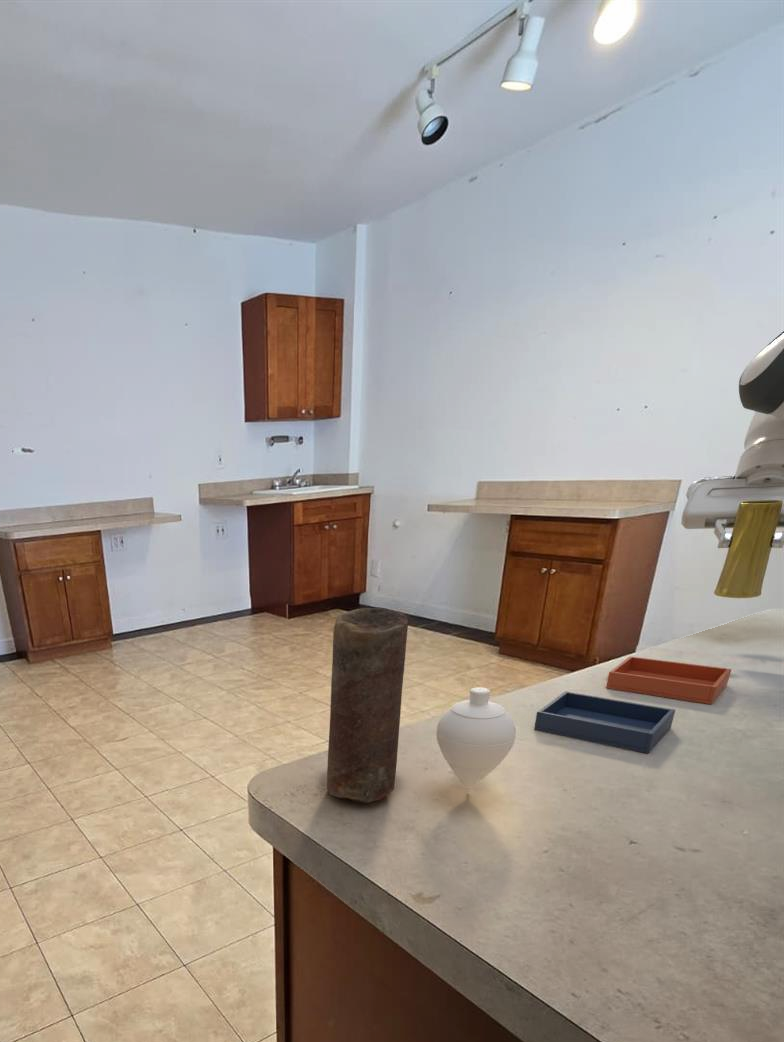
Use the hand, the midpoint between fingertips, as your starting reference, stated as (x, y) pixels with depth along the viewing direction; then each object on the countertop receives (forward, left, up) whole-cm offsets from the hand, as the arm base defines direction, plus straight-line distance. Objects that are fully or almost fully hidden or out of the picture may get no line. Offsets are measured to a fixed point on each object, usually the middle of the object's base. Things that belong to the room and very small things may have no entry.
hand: (750, 545), depth 101 cm
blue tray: (+4, +47, -17) cm, 50 cm away
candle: (+18, +81, -17) cm, 85 cm away
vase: (0, -1, -8) cm, 8 cm away
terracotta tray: (+2, +25, -17) cm, 30 cm away
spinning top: (+9, +74, -17) cm, 77 cm away
